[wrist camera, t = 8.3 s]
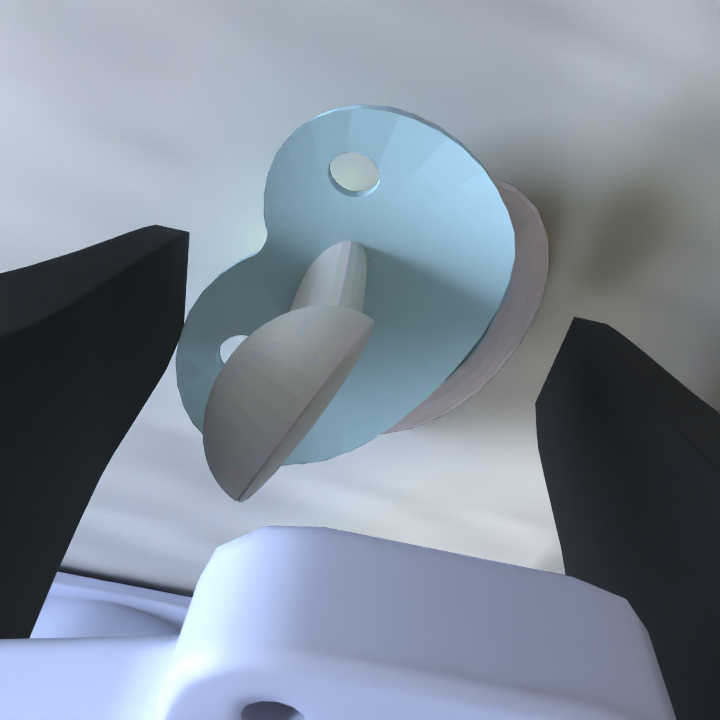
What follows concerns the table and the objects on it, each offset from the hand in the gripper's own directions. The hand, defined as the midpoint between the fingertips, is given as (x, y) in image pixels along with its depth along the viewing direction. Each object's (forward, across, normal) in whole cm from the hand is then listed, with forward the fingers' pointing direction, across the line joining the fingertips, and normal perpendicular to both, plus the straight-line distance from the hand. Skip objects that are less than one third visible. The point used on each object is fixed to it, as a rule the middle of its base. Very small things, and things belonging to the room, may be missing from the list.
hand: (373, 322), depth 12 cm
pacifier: (+2, 0, 0) cm, 2 cm away
